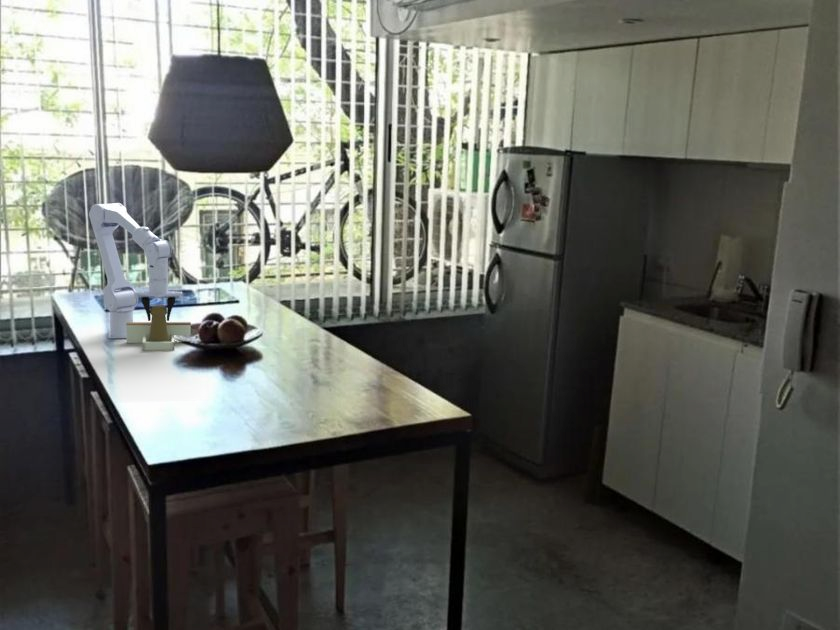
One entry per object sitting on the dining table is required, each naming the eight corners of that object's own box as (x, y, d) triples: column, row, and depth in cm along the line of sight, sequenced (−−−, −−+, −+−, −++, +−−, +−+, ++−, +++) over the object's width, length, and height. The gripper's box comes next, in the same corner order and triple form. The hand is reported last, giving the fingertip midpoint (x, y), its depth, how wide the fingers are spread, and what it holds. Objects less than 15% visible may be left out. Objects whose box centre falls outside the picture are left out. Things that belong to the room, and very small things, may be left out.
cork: (162, 341, 261) (161, 307, 259) (145, 340, 262) (144, 306, 260) (172, 338, 266) (172, 304, 264) (155, 336, 268) (155, 303, 266)
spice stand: (126, 341, 268) (126, 322, 266) (190, 341, 273) (190, 322, 272) (125, 350, 258) (124, 330, 257) (191, 349, 264) (191, 329, 263)
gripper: (133, 280, 255) (134, 323, 258) (182, 281, 259) (182, 323, 262) (134, 276, 261) (135, 317, 264) (182, 277, 266) (182, 317, 269)
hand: (158, 320), depth 264 cm, fingers closed on cork, 5 cm apart
